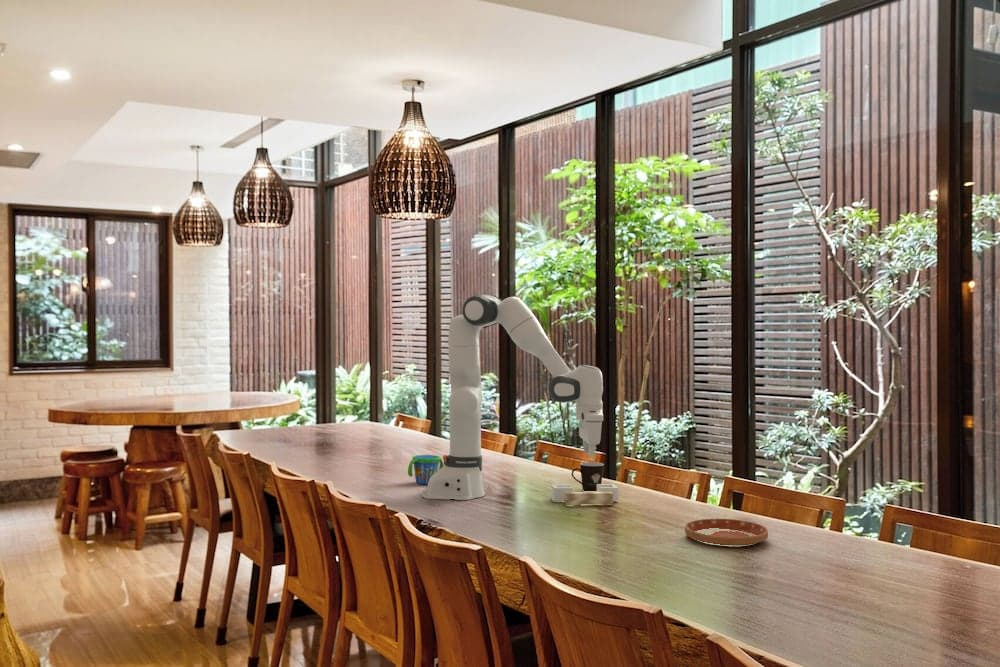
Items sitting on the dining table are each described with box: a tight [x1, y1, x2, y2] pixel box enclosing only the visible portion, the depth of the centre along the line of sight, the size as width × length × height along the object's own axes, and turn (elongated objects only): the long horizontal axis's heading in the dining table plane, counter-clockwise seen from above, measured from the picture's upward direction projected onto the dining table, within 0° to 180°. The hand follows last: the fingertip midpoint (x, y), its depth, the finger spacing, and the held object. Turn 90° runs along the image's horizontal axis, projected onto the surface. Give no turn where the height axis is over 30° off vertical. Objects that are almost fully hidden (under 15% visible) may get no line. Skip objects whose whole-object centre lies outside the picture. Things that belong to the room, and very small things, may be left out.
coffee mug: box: [571, 461, 605, 491], centre depth 311 cm, size 12×9×10 cm
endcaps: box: [551, 483, 619, 503], centre depth 294 cm, size 22×7×5 cm, turn 94°
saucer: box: [684, 518, 769, 545], centre depth 242 cm, size 23×23×4 cm
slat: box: [563, 491, 614, 506], centre depth 286 cm, size 16×3×4 cm, turn 95°
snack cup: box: [407, 454, 444, 486], centre depth 323 cm, size 16×10×10 cm
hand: (588, 454), depth 286 cm, fingers open, 8 cm apart
